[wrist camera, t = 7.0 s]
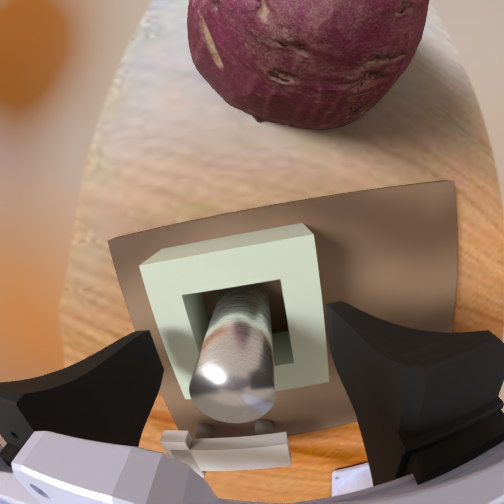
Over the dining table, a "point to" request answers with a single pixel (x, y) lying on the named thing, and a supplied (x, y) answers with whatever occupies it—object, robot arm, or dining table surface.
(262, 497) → the dining table surface
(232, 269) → the square hollow frame
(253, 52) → the vegetable
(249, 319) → the pin
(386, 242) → the board
